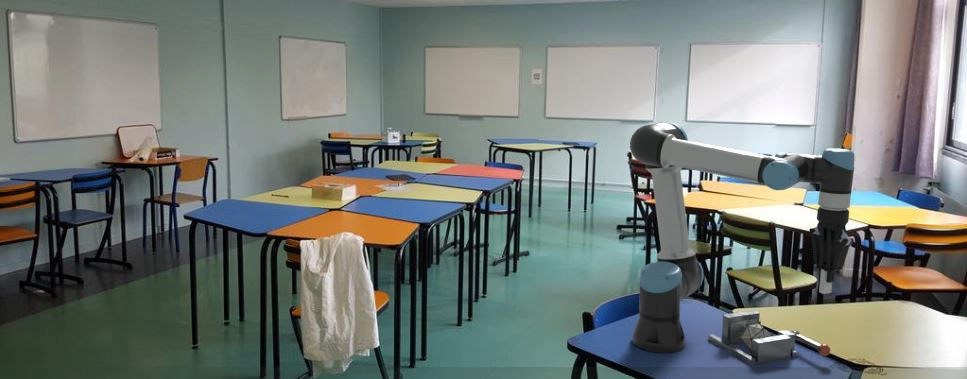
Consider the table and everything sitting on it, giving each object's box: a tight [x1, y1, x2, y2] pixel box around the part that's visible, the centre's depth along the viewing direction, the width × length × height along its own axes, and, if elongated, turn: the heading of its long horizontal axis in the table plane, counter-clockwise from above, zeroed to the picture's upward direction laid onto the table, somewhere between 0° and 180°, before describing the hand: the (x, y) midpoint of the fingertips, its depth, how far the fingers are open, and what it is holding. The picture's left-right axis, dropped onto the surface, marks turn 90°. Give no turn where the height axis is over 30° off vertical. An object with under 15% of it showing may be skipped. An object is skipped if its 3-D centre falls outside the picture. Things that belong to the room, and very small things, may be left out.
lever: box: [790, 330, 831, 356], centre depth 194 cm, size 3×3×14 cm
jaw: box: [721, 310, 761, 345], centre depth 204 cm, size 3×11×8 cm, turn 108°
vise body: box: [707, 329, 798, 366], centre depth 200 cm, size 19×18×6 cm
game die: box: [738, 320, 775, 354], centre depth 198 cm, size 9×8×10 cm
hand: (825, 292), depth 187 cm, fingers closed
